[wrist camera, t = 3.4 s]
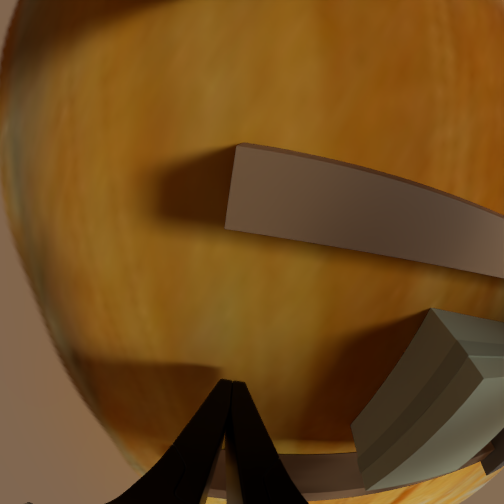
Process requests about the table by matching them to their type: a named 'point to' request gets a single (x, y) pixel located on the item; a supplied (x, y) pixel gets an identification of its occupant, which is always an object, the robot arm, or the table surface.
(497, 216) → the bay
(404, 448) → the block
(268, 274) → the table surface
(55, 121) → the table surface
